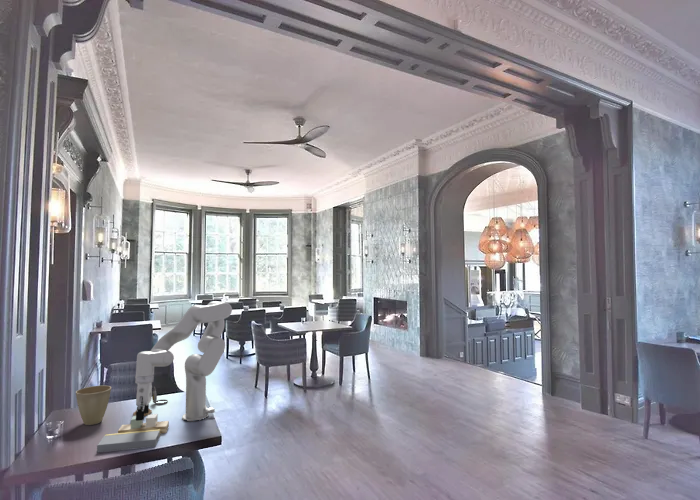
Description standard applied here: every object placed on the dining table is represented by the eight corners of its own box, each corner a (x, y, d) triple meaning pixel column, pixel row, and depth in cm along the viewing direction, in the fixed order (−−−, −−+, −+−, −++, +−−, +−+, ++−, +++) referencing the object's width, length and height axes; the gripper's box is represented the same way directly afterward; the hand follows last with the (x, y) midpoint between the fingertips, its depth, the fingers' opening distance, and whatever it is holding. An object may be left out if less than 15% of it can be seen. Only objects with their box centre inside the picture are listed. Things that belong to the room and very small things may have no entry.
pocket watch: (170, 402, 232) (170, 384, 233) (158, 406, 224) (159, 388, 225) (158, 400, 235) (159, 382, 235) (147, 405, 227) (147, 386, 227)
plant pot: (117, 418, 207) (118, 386, 207) (91, 429, 192) (92, 395, 193) (94, 415, 211) (94, 384, 211) (67, 426, 196) (68, 392, 197)
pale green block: (142, 423, 192) (142, 415, 192) (140, 427, 187) (140, 418, 187) (133, 424, 191) (133, 415, 191) (130, 428, 186) (130, 419, 186)
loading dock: (160, 436, 185) (160, 429, 185) (155, 446, 174) (155, 439, 174) (105, 441, 179) (105, 434, 179) (96, 452, 168) (97, 444, 168)
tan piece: (168, 428, 195) (168, 420, 195) (166, 433, 189) (166, 426, 189) (122, 432, 190) (122, 424, 190) (117, 438, 183) (118, 430, 183)
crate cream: (157, 422, 193) (157, 413, 193) (155, 426, 188) (155, 417, 189) (148, 423, 192) (148, 414, 192) (145, 427, 187) (145, 418, 188)
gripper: (149, 383, 183) (147, 422, 182) (156, 374, 200) (154, 410, 198) (131, 383, 181) (128, 423, 180) (140, 374, 198) (137, 411, 196)
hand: (142, 416), depth 189 cm, fingers open, 9 cm apart
